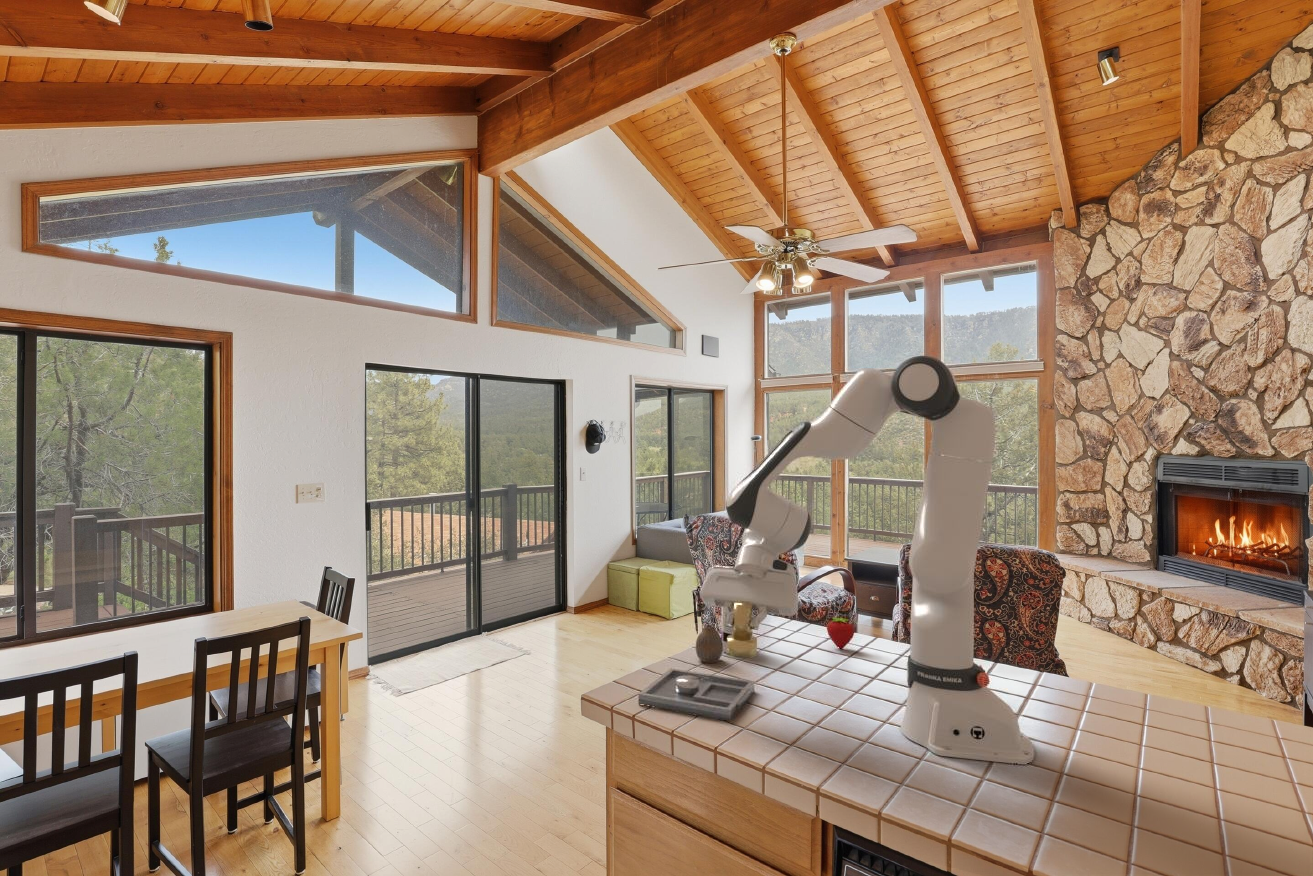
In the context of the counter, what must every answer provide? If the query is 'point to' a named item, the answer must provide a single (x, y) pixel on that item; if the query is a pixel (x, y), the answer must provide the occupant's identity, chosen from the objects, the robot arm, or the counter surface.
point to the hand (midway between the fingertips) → (741, 626)
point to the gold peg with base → (742, 632)
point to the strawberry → (840, 631)
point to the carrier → (698, 694)
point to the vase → (709, 645)
